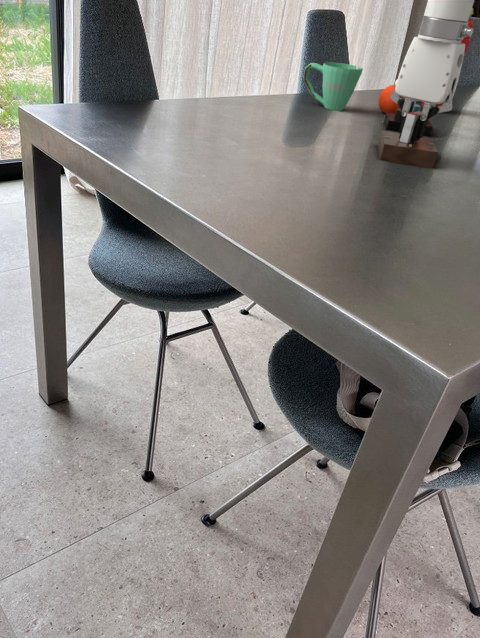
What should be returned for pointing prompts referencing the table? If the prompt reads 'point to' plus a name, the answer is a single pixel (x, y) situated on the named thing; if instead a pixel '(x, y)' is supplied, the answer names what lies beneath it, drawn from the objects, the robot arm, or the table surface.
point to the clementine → (387, 100)
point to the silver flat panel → (409, 126)
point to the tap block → (407, 150)
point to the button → (417, 108)
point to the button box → (395, 120)
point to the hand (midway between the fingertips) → (409, 138)
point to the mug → (334, 83)
